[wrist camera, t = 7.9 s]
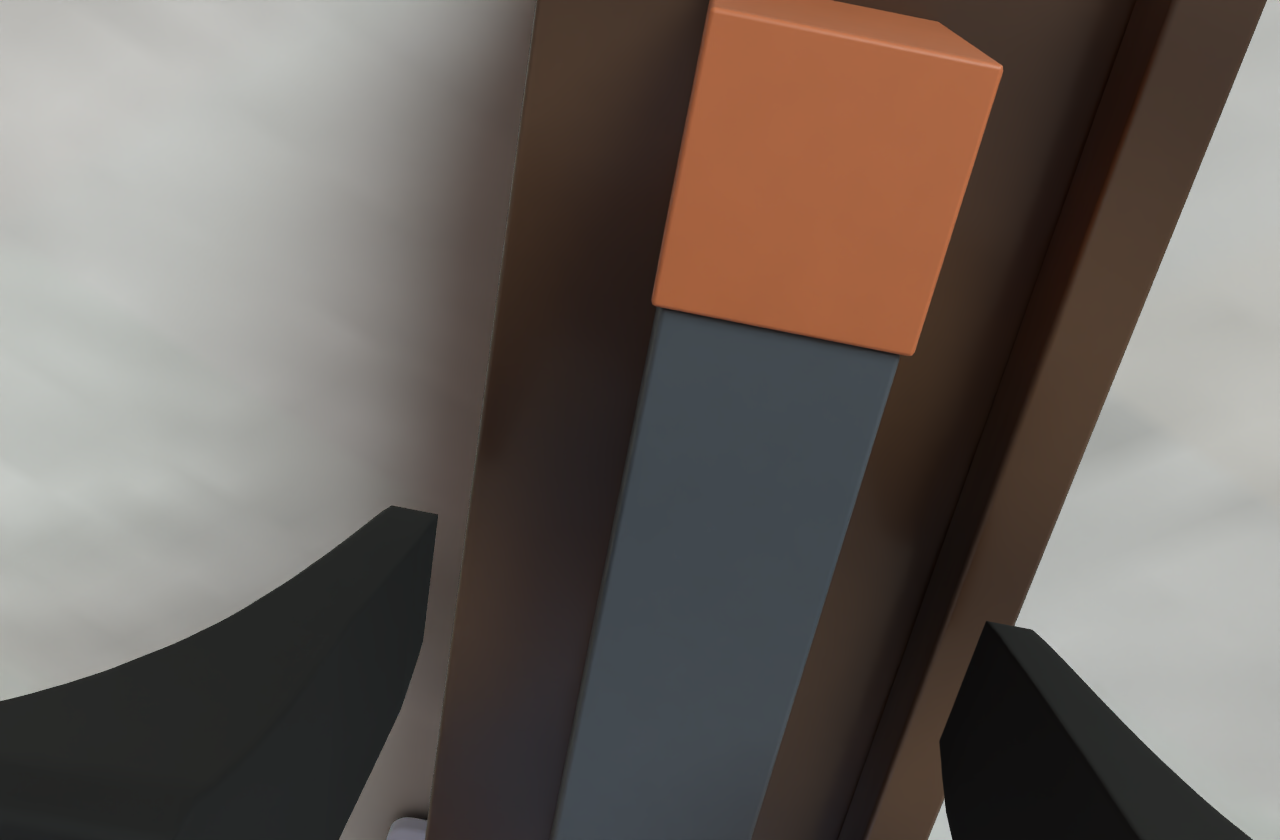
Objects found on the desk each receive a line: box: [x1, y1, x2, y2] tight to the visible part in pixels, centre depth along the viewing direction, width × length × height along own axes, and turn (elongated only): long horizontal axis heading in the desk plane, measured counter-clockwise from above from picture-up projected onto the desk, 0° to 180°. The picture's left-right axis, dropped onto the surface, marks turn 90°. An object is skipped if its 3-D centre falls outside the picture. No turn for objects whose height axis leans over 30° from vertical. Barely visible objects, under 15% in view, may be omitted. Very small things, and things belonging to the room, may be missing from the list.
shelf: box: [425, 0, 1267, 840], centre depth 19 cm, size 18×8×6 cm, turn 170°
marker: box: [549, 0, 1003, 840], centre depth 15 cm, size 15×3×4 cm, turn 170°
